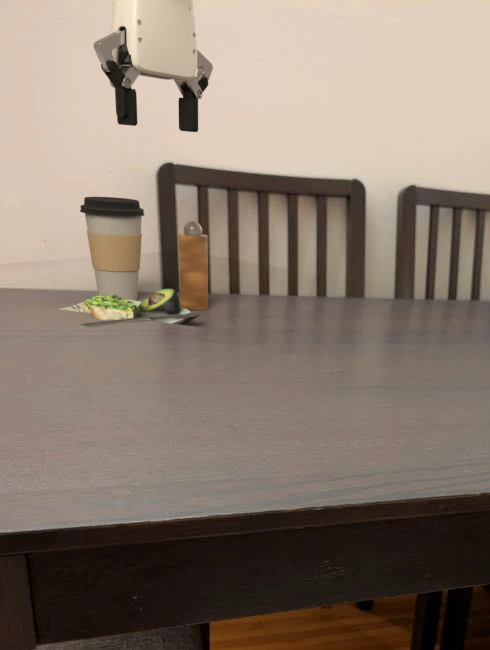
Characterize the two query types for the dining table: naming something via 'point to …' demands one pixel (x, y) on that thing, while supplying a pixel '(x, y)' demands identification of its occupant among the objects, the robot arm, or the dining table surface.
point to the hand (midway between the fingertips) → (159, 128)
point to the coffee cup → (114, 243)
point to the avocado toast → (135, 309)
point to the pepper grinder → (193, 267)
